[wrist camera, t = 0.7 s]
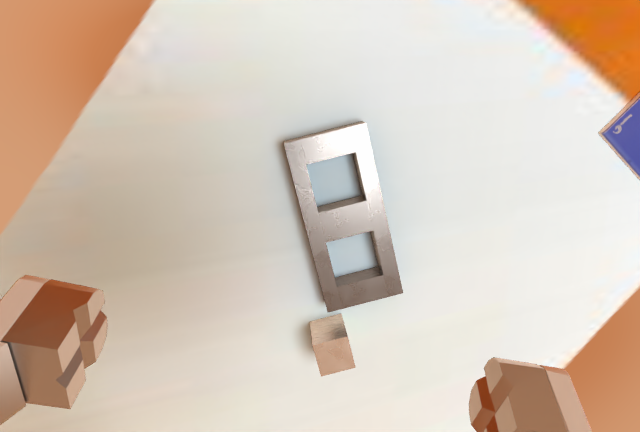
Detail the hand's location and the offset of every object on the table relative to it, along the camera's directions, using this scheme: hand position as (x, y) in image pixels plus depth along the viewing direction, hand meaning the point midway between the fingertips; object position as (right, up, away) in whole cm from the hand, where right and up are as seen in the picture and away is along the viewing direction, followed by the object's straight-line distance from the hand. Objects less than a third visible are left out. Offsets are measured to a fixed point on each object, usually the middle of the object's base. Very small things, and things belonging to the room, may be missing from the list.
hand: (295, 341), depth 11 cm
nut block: (+2, -12, +51) cm, 52 cm away
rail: (+3, +3, +48) cm, 48 cm away
